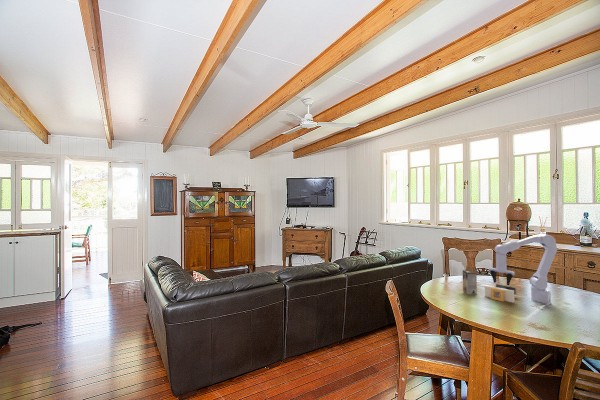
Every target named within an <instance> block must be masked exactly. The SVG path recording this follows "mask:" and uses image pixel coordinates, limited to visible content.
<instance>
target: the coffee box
mask: <svg viewBox="0 0 600 400" xmlns="http://www.w3.org/2000/svg"><path fill="white" fill-rule="evenodd" d="M477 279H478V277H477V272H475V271H473V270H470V269H467V270H465V269H463V270H462V293H464V294H465V293H466V294H467V295H478V293H477V291H478V289H477V288H478V287H477V286H478V285H477V283H478V282H477V281H478V280H477Z"/></svg>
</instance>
